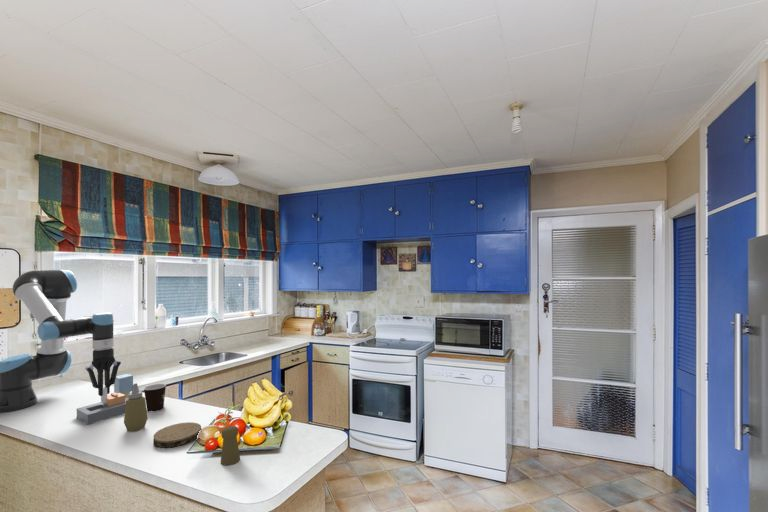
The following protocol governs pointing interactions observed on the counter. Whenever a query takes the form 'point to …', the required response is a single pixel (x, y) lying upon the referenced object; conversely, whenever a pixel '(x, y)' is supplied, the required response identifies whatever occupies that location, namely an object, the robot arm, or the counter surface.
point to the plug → (123, 384)
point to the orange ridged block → (115, 399)
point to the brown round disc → (176, 435)
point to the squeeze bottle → (135, 410)
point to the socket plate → (100, 412)
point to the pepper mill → (230, 446)
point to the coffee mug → (155, 397)
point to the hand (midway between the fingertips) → (104, 402)
